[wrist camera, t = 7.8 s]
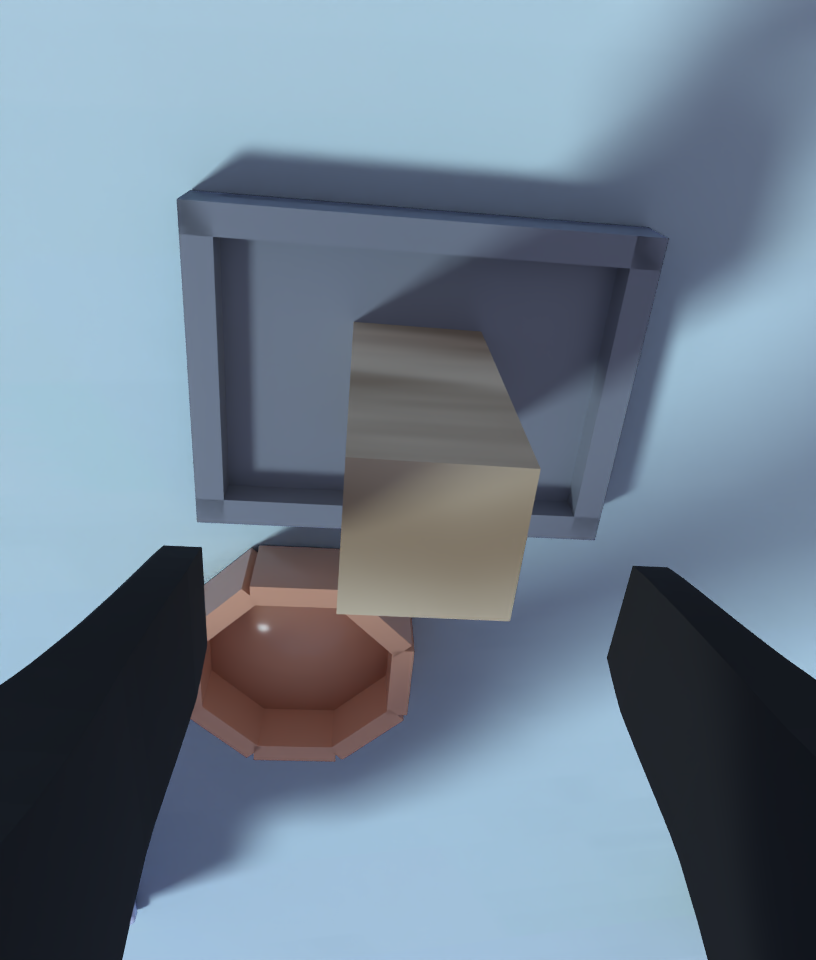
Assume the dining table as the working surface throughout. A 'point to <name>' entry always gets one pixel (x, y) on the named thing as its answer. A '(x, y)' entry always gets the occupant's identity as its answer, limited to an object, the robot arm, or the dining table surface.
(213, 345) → the slate tray
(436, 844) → the dining table surface
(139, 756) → the robot arm
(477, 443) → the beech peg
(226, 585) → the terracotta octagonal bowl
